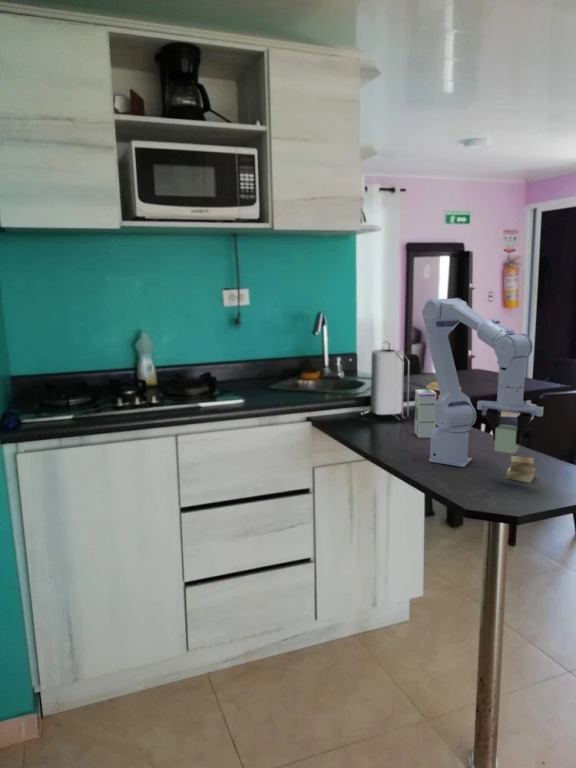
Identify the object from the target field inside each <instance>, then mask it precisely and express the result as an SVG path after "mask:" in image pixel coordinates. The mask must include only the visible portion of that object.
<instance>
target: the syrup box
mask: <svg viewBox="0 0 576 768" xmlns="http://www.w3.org/2000/svg"><path fill="white" fill-rule="evenodd" d="M435 402H436V392H434V391H433V390H430V389H427V388H426V389H425V388H424V389H423V388H422V389H415V391H414V424H413V425H414V426H413V427H414V428H413V429H414V431H413V432H414V434H415V437H417V438H419V439H421V438H423V439H431V434H432V430H433V429H434V428H435V427H436V422H435V407H434V403H435Z"/></svg>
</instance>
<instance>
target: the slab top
mask: <svg viewBox="0 0 576 768" xmlns="http://www.w3.org/2000/svg"><path fill="white" fill-rule="evenodd" d="M510 457H511V458H510V466H511V469H510V471H513V472H522V473H531V474H533V468H534V457H527V456H519V455H518V456H517V455H511V456H510Z"/></svg>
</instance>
